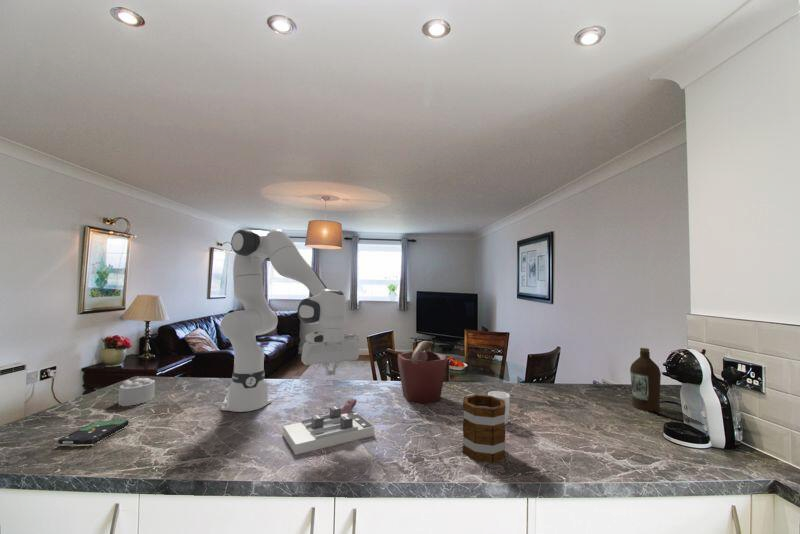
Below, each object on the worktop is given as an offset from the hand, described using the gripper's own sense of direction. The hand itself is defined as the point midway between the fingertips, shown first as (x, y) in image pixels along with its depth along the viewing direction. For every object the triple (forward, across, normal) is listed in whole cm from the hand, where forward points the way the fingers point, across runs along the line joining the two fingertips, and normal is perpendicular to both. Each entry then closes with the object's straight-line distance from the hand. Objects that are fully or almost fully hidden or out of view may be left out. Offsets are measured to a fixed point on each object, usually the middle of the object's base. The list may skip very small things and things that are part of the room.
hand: (330, 375), depth 119 cm
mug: (+18, -36, +36) cm, 54 cm away
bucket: (+18, -48, -10) cm, 52 cm away
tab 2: (+15, -2, +10) cm, 18 cm away
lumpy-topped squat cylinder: (+20, +60, -65) cm, 90 cm away
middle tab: (+15, +6, +5) cm, 17 cm away
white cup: (+18, -57, +25) cm, 65 cm away
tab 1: (+15, -2, 0) cm, 15 cm away
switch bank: (+18, +2, +5) cm, 19 cm away
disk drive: (+20, +67, -31) cm, 76 cm away
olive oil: (+17, -124, +46) cm, 134 cm away
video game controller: (+19, -11, -9) cm, 23 cm away
